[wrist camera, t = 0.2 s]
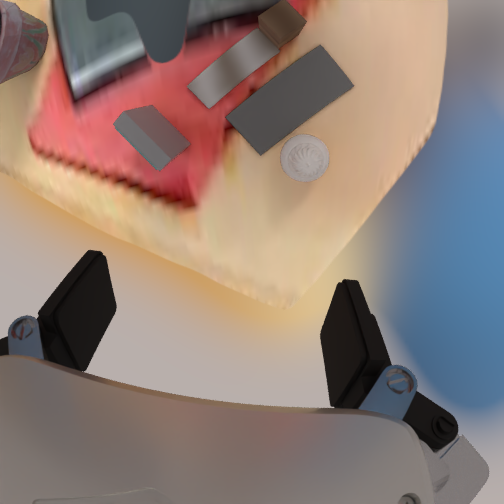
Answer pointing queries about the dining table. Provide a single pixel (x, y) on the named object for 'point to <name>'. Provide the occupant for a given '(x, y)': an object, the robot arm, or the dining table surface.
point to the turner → (248, 53)
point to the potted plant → (19, 40)
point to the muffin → (304, 158)
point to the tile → (151, 135)
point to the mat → (289, 99)
